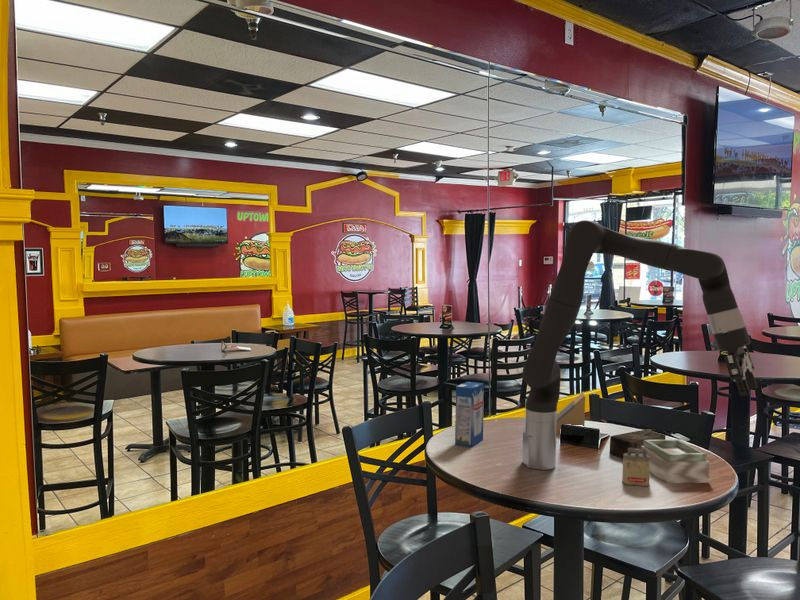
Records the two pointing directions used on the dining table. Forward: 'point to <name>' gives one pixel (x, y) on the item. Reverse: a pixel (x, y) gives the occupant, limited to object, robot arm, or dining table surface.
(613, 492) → the dining table surface
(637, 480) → the lighter
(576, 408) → the sandwich container
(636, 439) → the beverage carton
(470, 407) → the milk carton
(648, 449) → the stand
